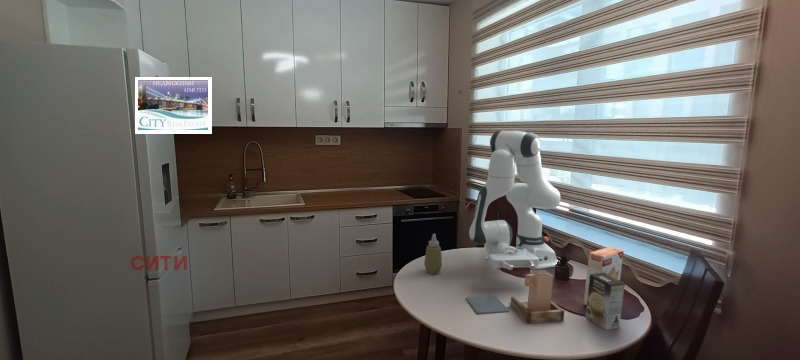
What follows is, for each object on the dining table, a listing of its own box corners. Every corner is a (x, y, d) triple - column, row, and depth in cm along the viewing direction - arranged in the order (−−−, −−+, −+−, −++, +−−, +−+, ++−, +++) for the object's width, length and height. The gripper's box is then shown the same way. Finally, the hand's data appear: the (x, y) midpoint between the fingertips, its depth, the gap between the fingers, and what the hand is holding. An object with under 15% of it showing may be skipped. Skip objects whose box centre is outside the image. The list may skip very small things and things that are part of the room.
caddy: (540, 301, 140) (541, 292, 140) (563, 321, 126) (564, 311, 126) (508, 303, 138) (508, 294, 137) (527, 324, 124) (528, 313, 123)
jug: (541, 306, 135) (544, 269, 133) (549, 314, 130) (553, 275, 128) (519, 308, 134) (522, 270, 132) (527, 316, 129) (530, 276, 126)
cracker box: (598, 311, 133) (604, 256, 130) (582, 304, 138) (587, 251, 135) (618, 302, 140) (624, 250, 137) (603, 296, 145) (608, 245, 142)
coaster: (494, 296, 143) (495, 295, 143) (508, 311, 131) (509, 310, 131) (465, 298, 141) (465, 297, 141) (477, 314, 129) (477, 312, 129)
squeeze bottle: (440, 276, 162) (442, 237, 159) (422, 274, 163) (423, 235, 161) (442, 269, 170) (443, 232, 167) (425, 267, 171) (426, 230, 168)
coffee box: (584, 316, 129) (588, 273, 127) (598, 314, 131) (603, 271, 128) (605, 330, 120) (610, 284, 118) (620, 327, 122) (626, 282, 120)
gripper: (483, 249, 154) (498, 260, 140) (528, 248, 157) (546, 259, 144) (482, 263, 155) (496, 276, 141) (527, 262, 158) (545, 274, 145)
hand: (522, 267), depth 143 cm, fingers open, 8 cm apart
